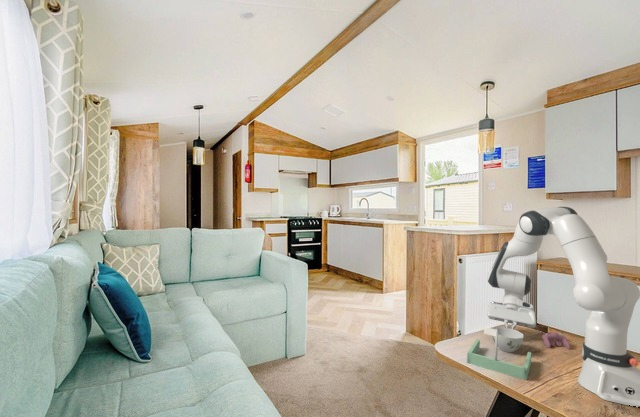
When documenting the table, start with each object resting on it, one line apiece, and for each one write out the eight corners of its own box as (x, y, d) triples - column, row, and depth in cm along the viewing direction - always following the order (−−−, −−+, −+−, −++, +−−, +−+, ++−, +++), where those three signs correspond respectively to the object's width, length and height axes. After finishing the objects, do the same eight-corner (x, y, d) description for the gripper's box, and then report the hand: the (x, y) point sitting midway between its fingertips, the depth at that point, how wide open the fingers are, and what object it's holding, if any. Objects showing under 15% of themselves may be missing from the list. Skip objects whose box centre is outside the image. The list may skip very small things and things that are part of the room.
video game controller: (565, 349, 146) (561, 333, 149) (572, 349, 142) (567, 332, 145) (543, 348, 147) (539, 332, 150) (548, 347, 143) (544, 331, 146)
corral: (531, 362, 130) (532, 323, 130) (526, 380, 117) (528, 337, 117) (476, 347, 143) (477, 312, 143) (467, 362, 129) (468, 323, 129)
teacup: (528, 357, 135) (529, 338, 134) (497, 354, 136) (497, 336, 136) (513, 342, 149) (513, 325, 149) (484, 340, 151) (485, 323, 151)
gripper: (488, 297, 163) (484, 322, 156) (536, 306, 151) (534, 333, 143) (490, 304, 167) (485, 328, 159) (537, 312, 154) (535, 339, 147)
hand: (509, 330), depth 151 cm, fingers closed
